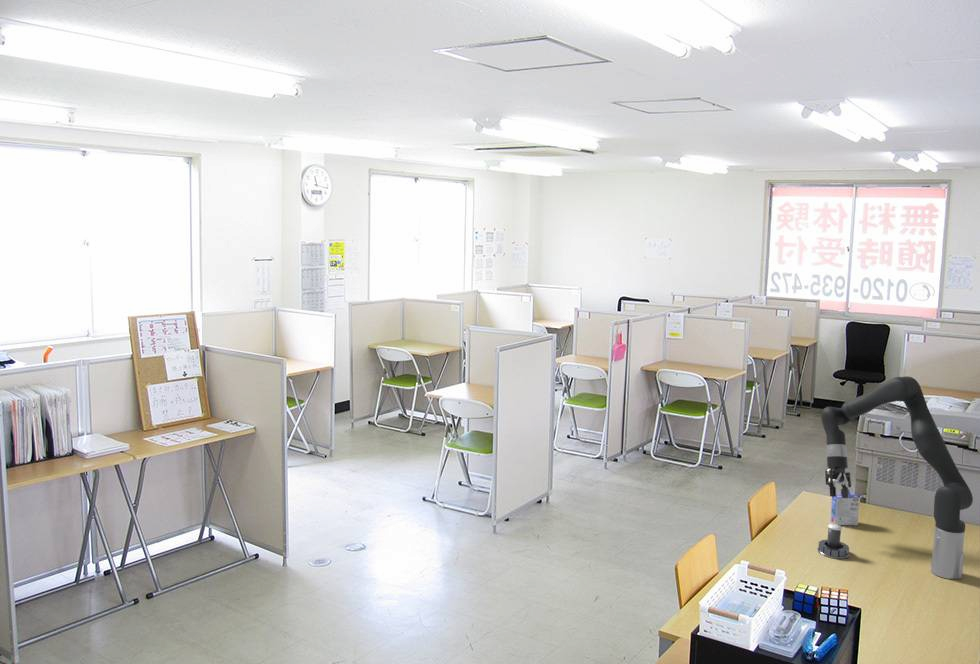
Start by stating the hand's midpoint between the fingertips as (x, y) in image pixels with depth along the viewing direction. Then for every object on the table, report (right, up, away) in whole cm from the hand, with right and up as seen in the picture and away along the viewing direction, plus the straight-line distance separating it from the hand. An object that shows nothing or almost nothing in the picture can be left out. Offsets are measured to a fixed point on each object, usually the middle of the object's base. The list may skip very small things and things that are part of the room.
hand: (839, 497), depth 310 cm
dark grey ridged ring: (-7, -19, -12) cm, 23 cm away
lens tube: (-8, -18, -11) cm, 23 cm away
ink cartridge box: (+11, -15, +19) cm, 27 cm away
